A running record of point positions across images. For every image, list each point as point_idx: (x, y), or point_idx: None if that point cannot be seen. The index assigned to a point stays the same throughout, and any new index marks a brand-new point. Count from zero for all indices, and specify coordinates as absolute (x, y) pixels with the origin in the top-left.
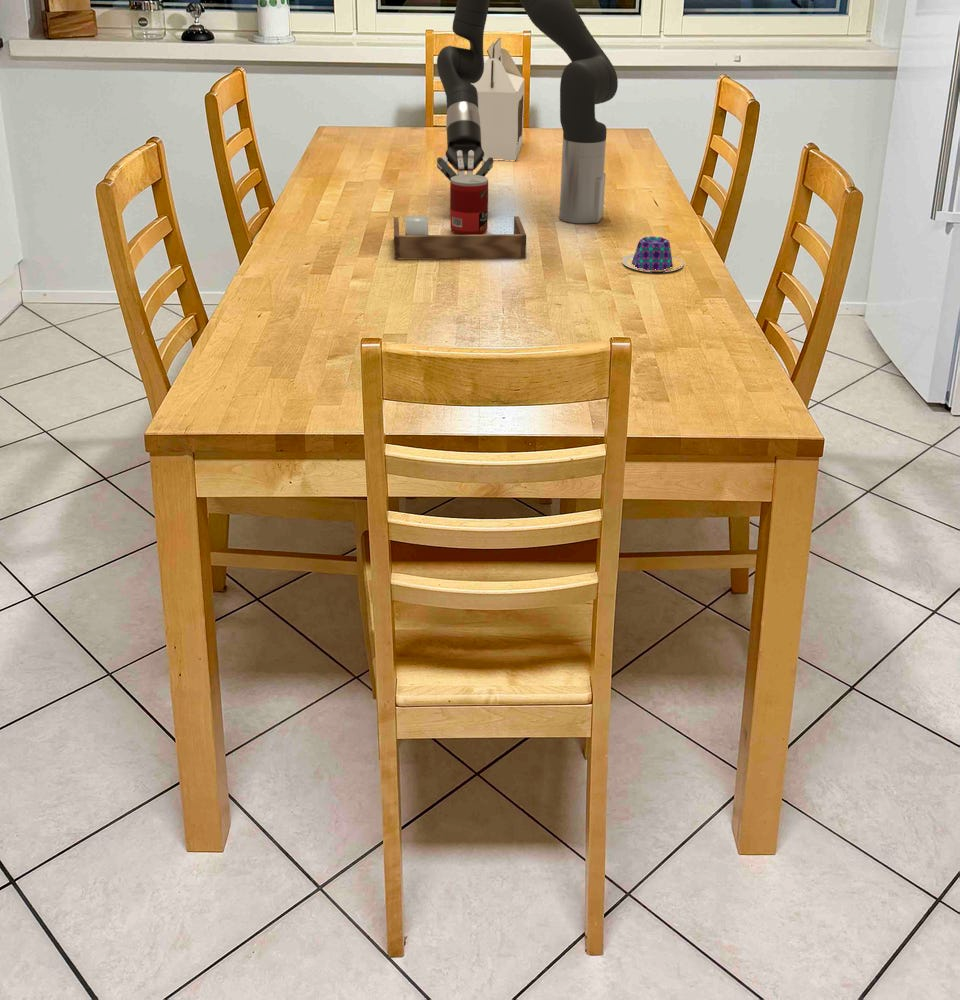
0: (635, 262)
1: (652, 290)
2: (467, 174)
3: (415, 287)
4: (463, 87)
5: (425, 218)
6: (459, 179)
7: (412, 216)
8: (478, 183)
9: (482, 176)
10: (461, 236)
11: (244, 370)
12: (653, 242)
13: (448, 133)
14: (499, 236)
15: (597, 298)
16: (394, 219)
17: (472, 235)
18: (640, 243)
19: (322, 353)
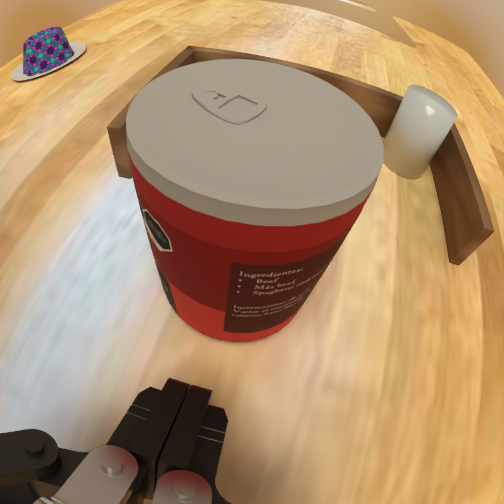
0: (65, 56)
1: (119, 24)
2: (229, 192)
3: (386, 74)
4: None
5: (414, 92)
6: (318, 153)
7: (445, 113)
8: (234, 60)
9: (137, 127)
10: (325, 71)
11: (461, 60)
12: (45, 35)
13: None
14: (243, 53)
15: (186, 18)
16: (487, 212)
17: (301, 66)
18: (57, 34)
19: (429, 49)
